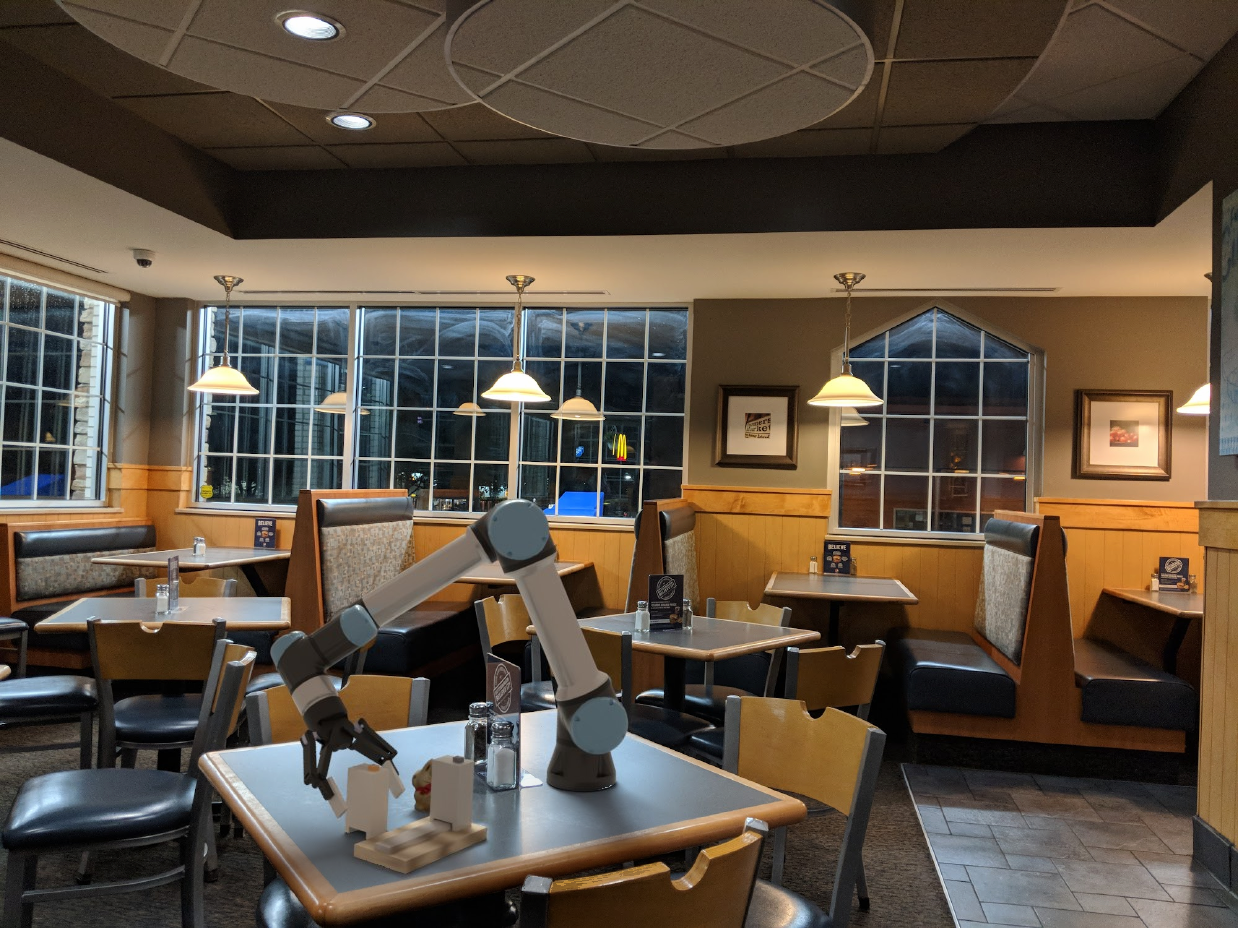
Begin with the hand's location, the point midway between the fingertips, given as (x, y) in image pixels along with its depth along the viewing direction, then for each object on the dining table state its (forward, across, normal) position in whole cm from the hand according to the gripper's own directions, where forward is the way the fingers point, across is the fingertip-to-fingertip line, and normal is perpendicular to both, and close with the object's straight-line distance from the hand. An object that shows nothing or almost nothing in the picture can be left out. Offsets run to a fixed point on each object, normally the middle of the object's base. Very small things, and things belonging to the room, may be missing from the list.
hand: (372, 803), depth 166 cm
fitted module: (+10, -8, +5) cm, 14 cm away
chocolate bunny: (+3, -17, -5) cm, 18 cm away
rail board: (+12, -1, +4) cm, 13 cm away
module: (+3, 0, -5) cm, 6 cm away
